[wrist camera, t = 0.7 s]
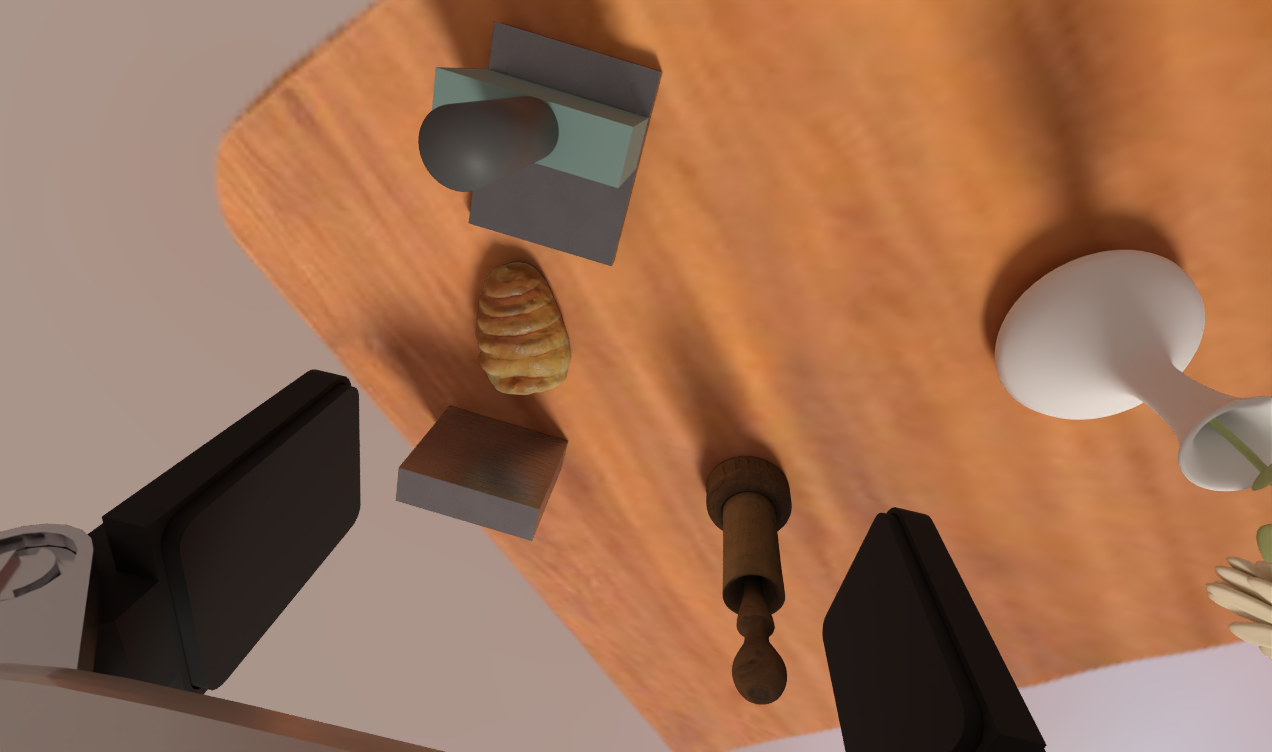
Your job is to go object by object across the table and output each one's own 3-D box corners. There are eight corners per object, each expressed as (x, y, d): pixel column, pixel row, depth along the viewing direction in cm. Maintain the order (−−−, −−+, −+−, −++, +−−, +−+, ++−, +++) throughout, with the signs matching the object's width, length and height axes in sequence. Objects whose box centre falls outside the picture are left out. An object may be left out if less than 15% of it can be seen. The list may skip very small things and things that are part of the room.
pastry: (470, 260, 42) (449, 276, 39) (562, 256, 41) (548, 273, 38) (494, 378, 46) (477, 401, 43) (578, 377, 45) (567, 401, 42)
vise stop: (449, 405, 48) (398, 467, 40) (568, 441, 48) (539, 509, 40) (445, 435, 49) (395, 500, 42) (560, 469, 49) (532, 540, 42)
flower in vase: (983, 264, 38) (1358, 536, 15) (1193, 223, 35) (2005, 478, 13) (985, 435, 43) (1266, 819, 21) (1167, 410, 40) (1710, 819, 18)
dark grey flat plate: (500, 22, 35) (494, 21, 34) (662, 71, 35) (660, 72, 34) (474, 220, 40) (468, 223, 40) (614, 261, 41) (611, 266, 40)
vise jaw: (486, 68, 35) (326, 64, 21) (648, 117, 35) (599, 146, 21) (479, 121, 36) (325, 151, 22) (635, 168, 36) (581, 228, 22)
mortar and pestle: (692, 499, 49) (677, 703, 33) (732, 442, 46) (737, 636, 30) (761, 532, 49) (781, 748, 34) (805, 478, 47) (849, 688, 31)
